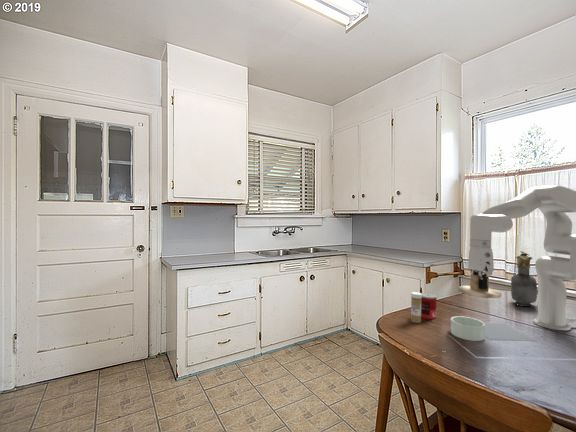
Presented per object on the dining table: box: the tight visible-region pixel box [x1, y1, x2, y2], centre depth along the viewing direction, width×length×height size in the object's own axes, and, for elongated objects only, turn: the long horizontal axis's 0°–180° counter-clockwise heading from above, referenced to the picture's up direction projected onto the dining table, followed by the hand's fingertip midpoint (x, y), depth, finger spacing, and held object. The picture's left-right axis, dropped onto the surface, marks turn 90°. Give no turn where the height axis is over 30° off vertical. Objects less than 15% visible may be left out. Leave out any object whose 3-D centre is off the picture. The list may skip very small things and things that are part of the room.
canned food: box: [420, 292, 438, 321], centre depth 140 cm, size 8×8×11 cm
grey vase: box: [510, 250, 538, 307], centre depth 161 cm, size 11×19×30 cm, turn 145°
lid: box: [458, 274, 502, 299], centre depth 120 cm, size 15×15×7 cm
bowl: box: [450, 315, 486, 342], centre depth 119 cm, size 12×12×6 cm
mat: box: [484, 322, 537, 342], centre depth 122 cm, size 18×18×1 cm
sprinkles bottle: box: [410, 291, 422, 324], centre depth 134 cm, size 5×5×14 cm
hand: (479, 287), depth 120 cm, fingers closed on lid, 4 cm apart
